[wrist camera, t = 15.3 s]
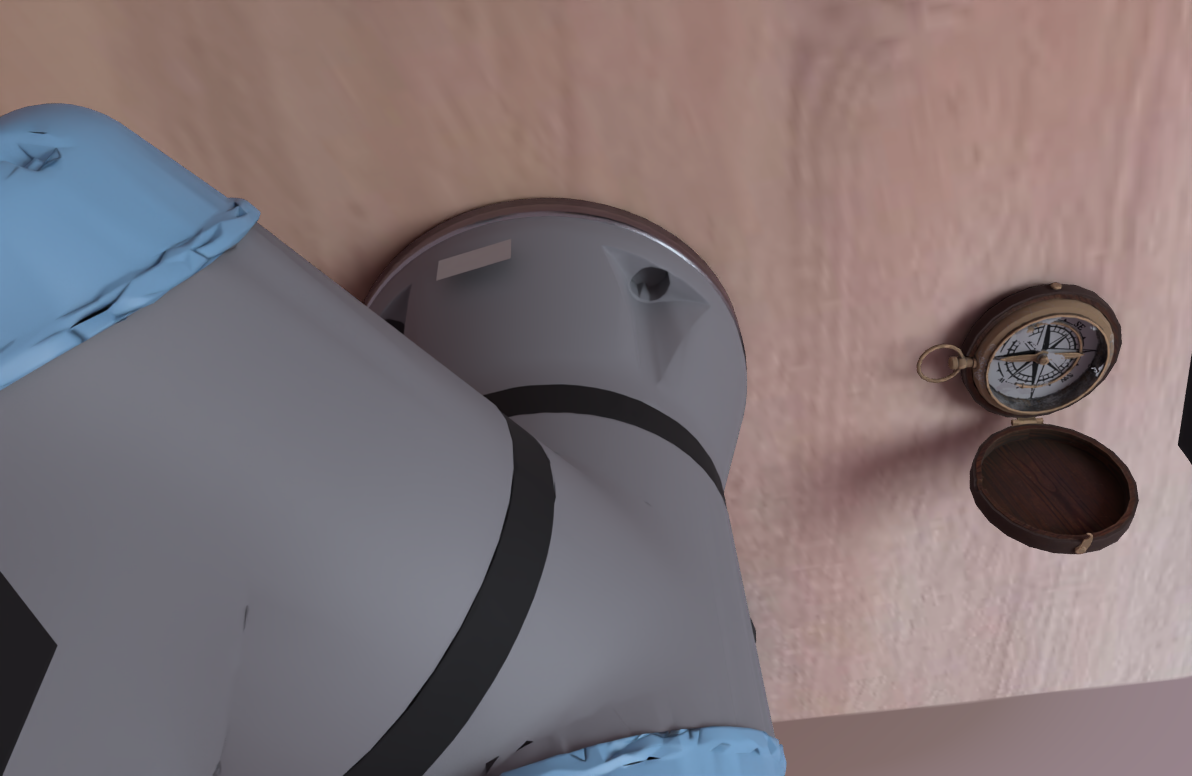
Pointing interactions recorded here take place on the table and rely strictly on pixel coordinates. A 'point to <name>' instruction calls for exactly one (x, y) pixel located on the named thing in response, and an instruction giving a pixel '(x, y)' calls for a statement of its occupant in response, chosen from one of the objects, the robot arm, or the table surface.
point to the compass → (1030, 448)
